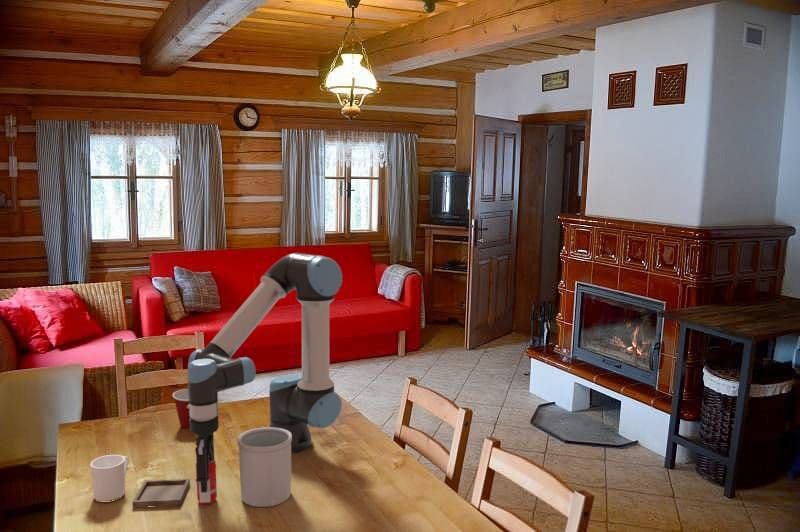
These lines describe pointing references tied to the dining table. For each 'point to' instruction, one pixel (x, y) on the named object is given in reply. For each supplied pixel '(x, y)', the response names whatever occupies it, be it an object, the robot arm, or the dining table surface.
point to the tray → (161, 493)
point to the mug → (109, 477)
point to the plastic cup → (182, 407)
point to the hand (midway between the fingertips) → (207, 496)
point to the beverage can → (212, 482)
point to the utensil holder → (265, 466)
